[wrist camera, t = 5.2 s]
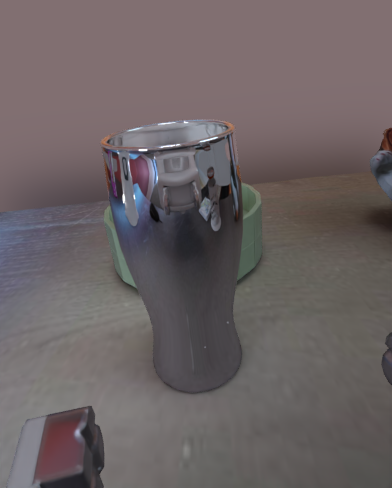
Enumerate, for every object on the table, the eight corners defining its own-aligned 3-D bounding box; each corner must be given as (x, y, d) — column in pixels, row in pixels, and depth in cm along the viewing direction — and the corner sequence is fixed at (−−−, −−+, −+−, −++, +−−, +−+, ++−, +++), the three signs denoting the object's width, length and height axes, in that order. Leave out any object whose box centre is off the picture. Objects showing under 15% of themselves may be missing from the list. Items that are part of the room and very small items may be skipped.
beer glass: (126, 377, 23) (63, 147, 16) (180, 313, 28) (150, 119, 21) (222, 417, 20) (196, 151, 13) (263, 336, 25) (260, 117, 18)
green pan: (117, 314, 29) (100, 251, 26) (116, 237, 42) (105, 190, 39) (286, 279, 31) (288, 217, 28) (235, 216, 44) (233, 170, 41)
